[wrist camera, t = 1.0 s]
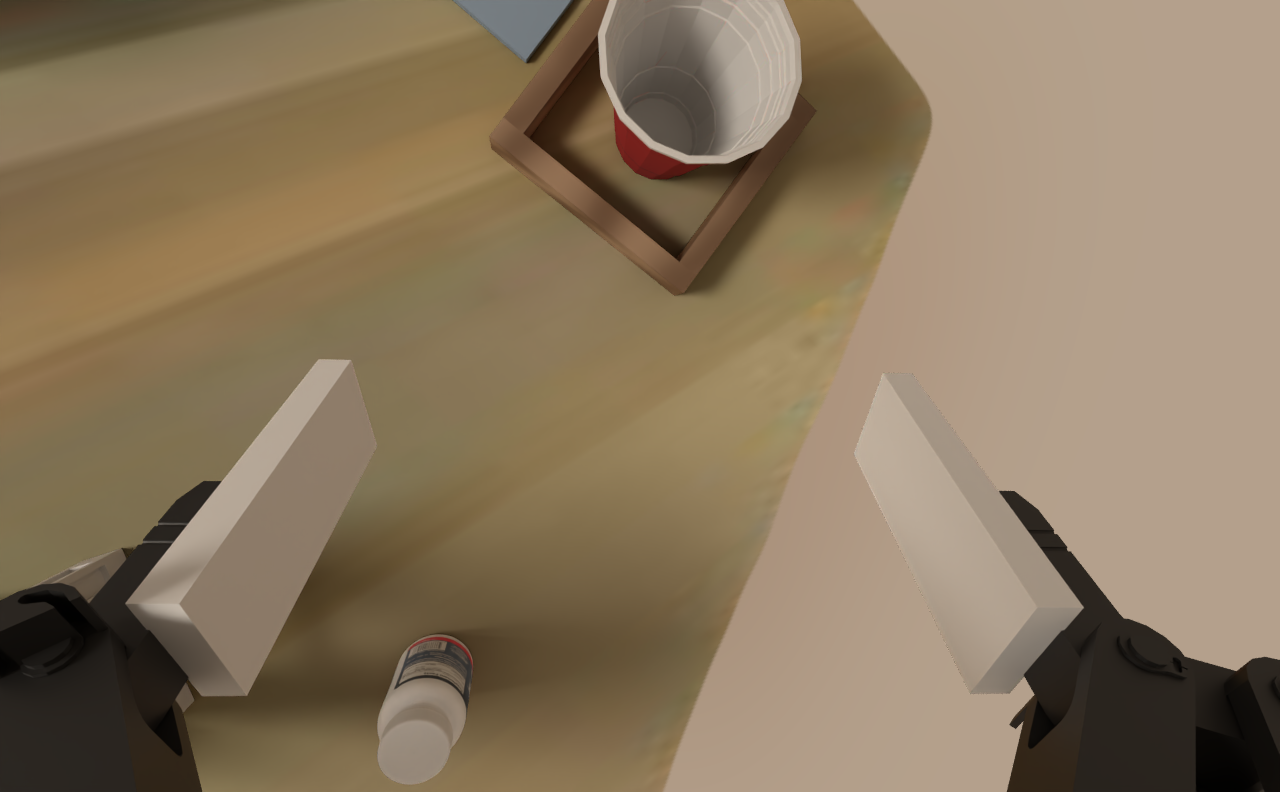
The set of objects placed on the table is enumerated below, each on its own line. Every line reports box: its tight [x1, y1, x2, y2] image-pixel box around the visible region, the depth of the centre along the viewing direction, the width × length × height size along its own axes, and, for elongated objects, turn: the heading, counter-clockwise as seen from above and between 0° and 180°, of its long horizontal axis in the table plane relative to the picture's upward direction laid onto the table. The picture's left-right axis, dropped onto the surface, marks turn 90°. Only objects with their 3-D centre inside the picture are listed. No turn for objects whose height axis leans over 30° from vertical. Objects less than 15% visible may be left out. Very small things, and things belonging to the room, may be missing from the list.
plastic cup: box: [598, 0, 802, 179], centre depth 35 cm, size 11×11×12 cm
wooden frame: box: [489, 0, 817, 296], centre depth 39 cm, size 16×16×2 cm
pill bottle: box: [377, 634, 473, 784], centre depth 37 cm, size 5×5×9 cm
